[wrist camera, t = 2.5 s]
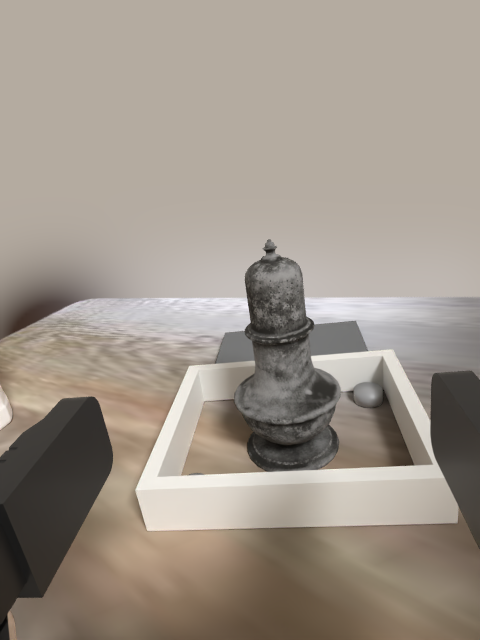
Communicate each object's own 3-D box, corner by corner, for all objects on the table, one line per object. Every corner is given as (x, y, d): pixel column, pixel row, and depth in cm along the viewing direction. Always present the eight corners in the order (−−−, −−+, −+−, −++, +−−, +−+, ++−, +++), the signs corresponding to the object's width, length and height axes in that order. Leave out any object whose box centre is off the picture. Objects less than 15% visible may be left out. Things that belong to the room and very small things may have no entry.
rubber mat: (356, 326, 39) (355, 320, 39) (372, 369, 32) (372, 361, 31) (226, 338, 41) (225, 332, 40) (213, 381, 33) (211, 374, 33)
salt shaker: (236, 424, 28) (205, 239, 23) (325, 407, 28) (310, 221, 24) (250, 489, 22) (213, 262, 18) (360, 466, 22) (350, 239, 18)
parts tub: (393, 382, 30) (392, 349, 29) (457, 523, 18) (460, 477, 18) (195, 396, 32) (189, 365, 31) (147, 531, 20) (135, 490, 20)
